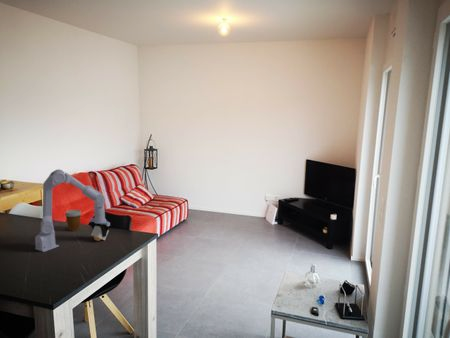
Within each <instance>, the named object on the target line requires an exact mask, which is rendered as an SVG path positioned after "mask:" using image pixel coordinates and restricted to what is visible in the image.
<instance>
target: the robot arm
mask: <svg viewBox="0 0 450 338" xmlns="http://www.w3.org/2000/svg"><path fill="white" fill-rule="evenodd" d="M63 183H65V184H70V185H73V186H74V187H76V188H77V189H79V190H81V193H82V195H84V196H85V197H87V198H89V199H90V200H92V201H94V206H93V208H94V209H93V210H94V212H93V213H94V217H92V218H90V219H89V220H90V221H89V222H90V226H91V227H92V230H93V229H94V227H95V226H99V227H100V228H101V230H102V236H103V237H105V236H106V234H107V230H109V228H110V226H111V222H109V221H108V220H107V219H106V212H105V202H106V198H105V196H104V194H102V193H101V192H100V191H99V190H96V188H94V187H93V186H92V185H85V184H83V183H82V182H81V181H80V180H78V179H76V178H75V177H74V176H72V175H71V174H69V173H68V172H65V171H64V170H62V169H59V168H58V169H56V170H54V171H52V172H50V174H49V175H48V177H47V178H46V179H45V181H44V182H43V184H42V185H43V186H42V189H43V191H42V218H41V221H40V231H39V233H38V234H37V235H36V236H35V237H34V240H35V242H34V243H35V248H34V249H35V250H37V251H39V252H42V253H45V252H48V251H51V250H53V249H55V248H58V247H60V245H59V244H56V232H55V228H54V222H53V189H54V188H55V187H56V186H58V185H61V184H63ZM107 235H108V234H107ZM106 237H107V236H106Z"/></svg>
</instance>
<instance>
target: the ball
mask: <svg viewBox="0 0 450 338" xmlns="http://www.w3.org/2000/svg"><path fill="white" fill-rule="evenodd" d="M93 239H94V241H97V242H99V241H101V240H102V239H101V238H98V237H95V236H93Z"/></svg>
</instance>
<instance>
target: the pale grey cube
mask: <svg viewBox="0 0 450 338" xmlns="http://www.w3.org/2000/svg"><path fill="white" fill-rule="evenodd" d="M109 232H110V230H109V229H108V230H107V234H106V236H105V237H103V236H102V230H101V228H100V225H99V226H95V227H94V229H93V228H92V232H91V235H90V236H92V237H94V236H95V237H98V238H101V240H103V241H106V239H107V237H108V234H109Z"/></svg>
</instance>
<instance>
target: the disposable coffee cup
mask: <svg viewBox="0 0 450 338" xmlns="http://www.w3.org/2000/svg"><path fill="white" fill-rule="evenodd" d="M64 215H65V219H66V223H67V229H68V231H69V232H76V231H79V230H80V226H81V216H82V211H81V210H80V209H68V210H66V211H65V213H64Z"/></svg>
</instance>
